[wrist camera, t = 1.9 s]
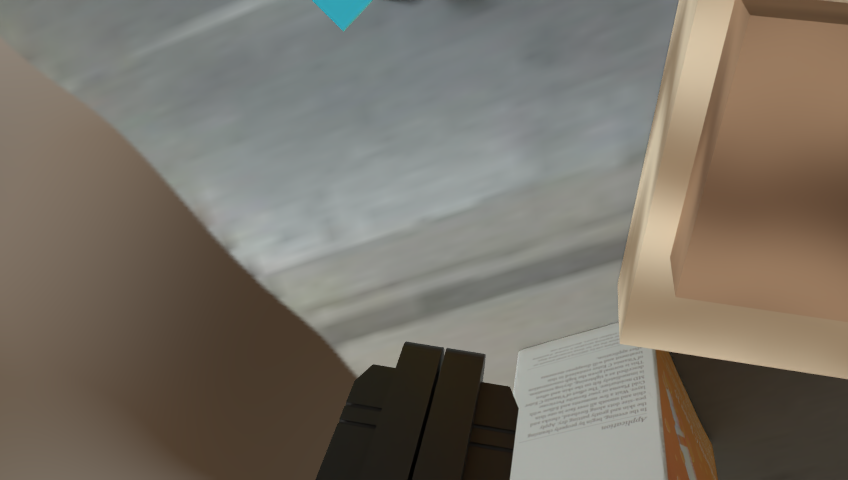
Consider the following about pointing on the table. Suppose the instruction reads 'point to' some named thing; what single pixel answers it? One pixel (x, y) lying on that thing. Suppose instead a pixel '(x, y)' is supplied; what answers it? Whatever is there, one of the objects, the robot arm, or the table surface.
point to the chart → (342, 10)
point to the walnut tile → (772, 166)
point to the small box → (605, 413)
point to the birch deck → (658, 220)
